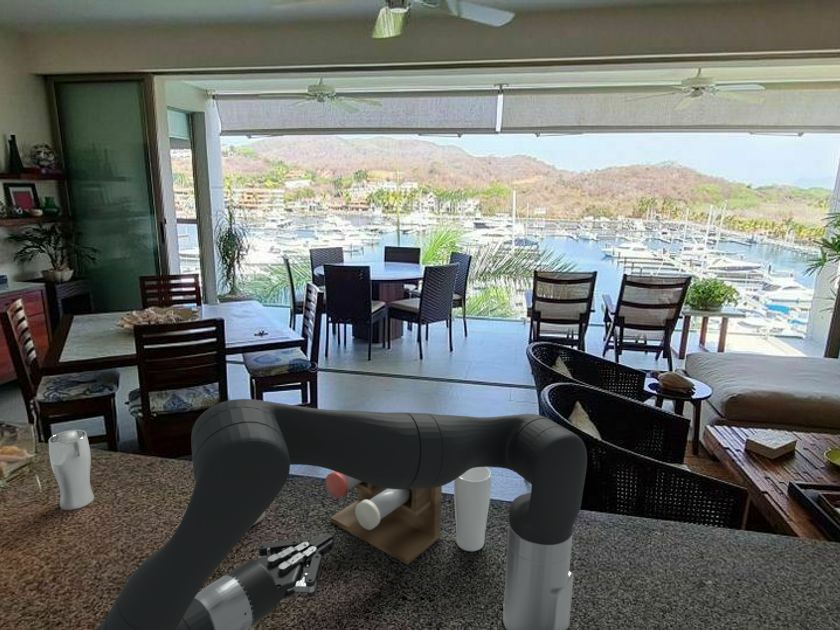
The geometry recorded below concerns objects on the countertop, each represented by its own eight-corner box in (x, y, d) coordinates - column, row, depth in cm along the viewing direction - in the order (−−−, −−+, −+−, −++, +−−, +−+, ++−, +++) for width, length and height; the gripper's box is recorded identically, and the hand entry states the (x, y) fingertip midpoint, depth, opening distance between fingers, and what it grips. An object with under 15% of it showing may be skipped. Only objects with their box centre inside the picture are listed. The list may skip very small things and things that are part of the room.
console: (440, 537, 102) (442, 451, 98) (407, 564, 94) (408, 473, 90) (365, 499, 114) (364, 422, 110) (330, 521, 106) (328, 439, 102)
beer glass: (60, 497, 113) (50, 432, 110) (98, 489, 116) (89, 426, 113) (54, 514, 107) (43, 446, 104) (94, 506, 110) (85, 440, 107)
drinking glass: (486, 558, 96) (490, 483, 93) (449, 552, 98) (451, 479, 94) (489, 535, 103) (492, 465, 99) (454, 530, 104) (457, 461, 101)
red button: (379, 480, 106) (379, 458, 105) (343, 502, 98) (343, 478, 97) (362, 472, 109) (362, 450, 107) (325, 493, 101) (325, 470, 100)
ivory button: (412, 507, 97) (413, 483, 96) (375, 534, 89) (375, 508, 88) (393, 498, 100) (393, 475, 98) (355, 523, 92) (354, 498, 91)
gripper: (261, 603, 66) (360, 535, 79) (204, 558, 74) (302, 502, 87) (265, 653, 67) (360, 578, 81) (208, 603, 75) (304, 542, 89)
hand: (330, 539), depth 84 cm, fingers closed
